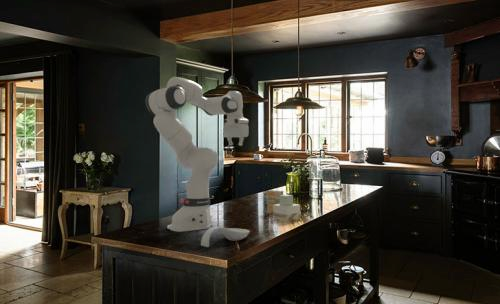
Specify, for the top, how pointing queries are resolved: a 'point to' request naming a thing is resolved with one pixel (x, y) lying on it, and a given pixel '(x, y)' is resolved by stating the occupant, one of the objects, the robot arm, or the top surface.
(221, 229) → the white curved spoon
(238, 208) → the top surface
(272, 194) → the supplement box
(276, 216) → the block
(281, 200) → the sage cube
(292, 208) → the tower top
